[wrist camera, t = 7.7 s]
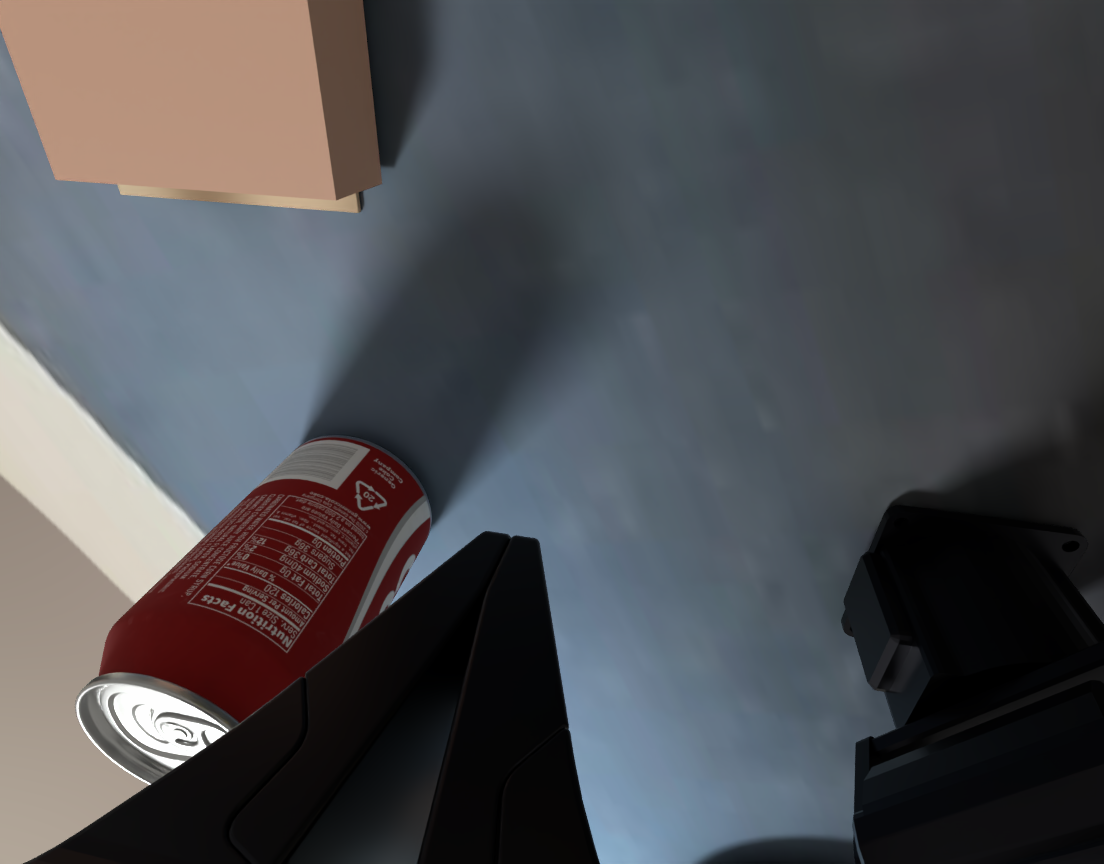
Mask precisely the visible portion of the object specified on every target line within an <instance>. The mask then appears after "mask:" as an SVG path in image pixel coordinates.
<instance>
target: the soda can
mask: <svg viewBox="0 0 1104 864" xmlns="http://www.w3.org/2000/svg"><path fill="white" fill-rule="evenodd" d="M431 523H432V512H431V506H430V502H429V499H428V496H427V494H426V492H425V490H424V488H423V486H422V484H421V483H420V481H419V480H418V478H417V477H416V476H415V474H414V473H413V472H412V471H411V470H410V469H409V468H408V466H407V465H405V464H404V463H403V462H402V461H401V460H400V459H399V458H397V457H396V456H395V455H393V454H392V453H390V452H389V451H387V450H386V449H384V448H382V447H380V446H378V445H376V444H374V443H371V442H369V441H366V440H363V439H360V438H356V437H351V436H344V435H327V436H321V437H317V438H314V439H311V440H309V441H307V442H305V443H303V444H302V445H300V446H299V447H298V448H296V449H295V450H294V451H293V452H292V453H291V454H290V455H289V456H288V457H287V458H286V459H285V460H284V461H283V462H282V463H281V464H280V465H279V466H278V467H277V468H276V469H275V470H274V471H273V472H272V473H271V474H269V475H268V476H267V477H266V478H265V479H264V480H263V481H262V482H261V483H260V484H259V485H258V486H257V487H256V488H255V489H254V490H253V491H252V492H251V493H250V494H249V495H248V496H247V497H246V498H245V499H244V500H242V501H241V502H240V503H239V504H238V505H237V506H236V507H235V508H234V509H233V510H232V511H231V512H230V513H229V514H228V515H227V516H226V517H225V518H224V519H223V520H222V521H221V522H220V523H219V524H218V525H217V526H216V527H214V528H213V529H212V530H211V531H210V532H209V533H208V534H207V535H206V536H205V537H204V538H203V539H202V540H201V541H200V542H199V543H198V544H197V545H196V546H195V547H194V548H193V549H192V550H191V551H190V552H189V553H187V554H186V555H185V556H184V557H183V558H182V559H181V560H180V561H179V562H178V563H177V564H176V565H175V566H174V567H173V568H172V569H171V570H170V571H169V572H168V573H167V574H166V575H165V576H164V577H163V578H162V579H161V580H159V581H158V582H157V583H156V584H155V585H154V586H153V587H152V588H151V589H150V590H149V591H148V592H147V593H146V594H145V595H144V596H143V597H142V598H141V599H140V600H139V601H138V602H137V603H136V604H135V605H134V606H133V607H132V608H130V609H129V611H127V612H126V613H125V614H124V615H123V616H122V617H121V618H120V619H119V620H118V621H117V622H116V623H115V624H114V626H113V627H112V629H111V630H110V632H109V634H108V636H107V639H106V642H105V647H104V652H103V657H102V662H101V667H100V672H99V676H98V677H96V678H94V679H93V680H91V681H90V682H89V683H88V684H87V685H86V686H85V687H84V688H83V689H82V690H81V691H80V693H79V695H78V696H77V698H76V703H75V711H76V715H77V718H78V721H79V723H80V725H81V727H82V729H83V730H84V732H85V734H86V735H87V736H88V737H89V739H90V740H91V741H92V742H93V744H94V745H96V747H97V748H98V749H99V750H100V751H101V752H102V753H103V754H105V755H106V756H107V757H108V758H109V759H110V760H112V761H113V762H114V763H115V764H117V765H118V766H119V767H121V768H122V769H124V770H125V771H127V772H128V773H130V774H131V775H133V776H135V777H136V778H138V779H140V780H141V781H143V782H145V783H147V784H149V785H150V784H152V783H153V782H155V781H156V780H158V779H159V778H161V777H162V776H164V775H165V774H167V773H168V772H170V771H171V770H173V769H174V768H176V767H177V766H179V765H180V764H182V763H183V762H185V761H186V760H188V759H189V758H191V757H192V756H194V755H195V754H197V753H198V752H199V751H201V750H202V749H204V748H205V747H207V746H208V745H209V744H211V743H212V742H214V741H215V740H217V739H218V738H220V737H221V736H222V735H224V734H225V733H227V732H228V731H230V730H231V729H233V728H234V727H235V726H237V725H238V724H240V723H241V722H242V721H244V720H245V719H246V718H247V717H249V716H250V715H251V714H253V713H254V712H255V711H257V710H258V709H259V708H261V707H262V706H263V705H265V704H266V703H267V702H269V701H270V700H271V699H273V698H274V697H275V696H277V695H278V694H279V693H280V692H282V691H283V690H284V689H285V688H287V687H288V686H289V685H290V684H292V683H293V682H294V681H295V680H297V679H298V678H299V677H304V678H305V673H306V672H307V671H308V670H310V669H311V668H312V667H313V666H315V665H316V664H317V663H318V662H320V661H321V660H322V659H323V658H325V657H326V656H327V655H329V654H330V653H331V652H332V651H334V650H335V649H336V648H337V647H339V646H340V645H341V644H342V643H344V642H345V641H346V640H347V639H349V638H350V637H351V636H352V635H354V634H355V633H356V632H358V631H359V630H360V629H361V628H363V627H364V626H365V625H366V624H368V623H369V622H370V621H371V620H373V619H374V618H375V617H376V616H378V615H379V614H380V613H381V612H383V611H384V610H385V609H387V608H388V607H389V606H390V604H391V602H392V601H393V599H394V597H395V595H396V593H397V592H398V590H399V588H400V586H401V584H402V583H403V581H404V579H405V577H406V575H407V574H408V572H409V570H410V568H411V567H412V565H413V563H414V561H415V559H416V558H417V556H418V554H419V552H420V550H421V549H422V547H423V545H424V543H425V541H426V540H427V537H428V535H429V533H430V529H431Z"/></svg>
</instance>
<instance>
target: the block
mask: <svg viewBox="0 0 1104 864" xmlns="http://www.w3.org/2000/svg"><path fill="white" fill-rule="evenodd" d="M0 28H1V31H2V34H3V37H4V39H5V42H6V45H7V48H8V50H9V53H10V56H11V59H12V61H13V64H14V67H15V69H16V72H17V75H18V78H19V80H20V83H21V86H22V89H23V91H24V94H25V97H26V100H27V102H28V105H29V108H30V111H31V113H32V116H33V119H34V121H35V124H36V127H37V130H38V132H39V135H40V138H41V141H42V143H43V146H44V149H45V152H46V154H47V157H48V160H49V163H50V165H51V168H52V171H53V173H54V176H55V179H56V180H66V181H79V182H93V183H106V184H120V185H133V186H147V187H160V188H174V189H187V190H201V191H214V192H228V193H241V194H255V195H268V196H282V197H295V198H309V199H323V200H339V199H342V198H344V197H347V196H350V195H353V194H355V193H358V192H361V191H364V190H366V189H369V188H372V187H375V186H377V185H380V184H382V178H381V168H380V159H379V149H378V140H377V130H376V121H375V112H374V102H373V93H372V83H371V74H370V64H369V55H368V45H367V36H366V26H365V17H364V7H363V0H0Z"/></svg>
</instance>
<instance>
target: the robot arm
mask: <svg viewBox="0 0 1104 864" xmlns="http://www.w3.org/2000/svg"><path fill="white" fill-rule="evenodd" d="M898 518H905V519H904V520H903V521H900V522H895V520H896V519H898ZM1068 541H1071V542H1070V543H1068V544H1064V543H1066V542H1068ZM1087 546H1088V542H1087V540H1086V538H1085V537H1084V536H1083V535H1082V534H1081V533H1080V532H1079V531H1078V530H1077V529H1073V528H1068V527H1061V526H1053V525H1046V524H1038V523H1031V522H1023V521H1016V520H1008V519H1001V518H993V517H986V516H978V515H971V514H963V513H956V512H948V511H941V510H933V509H926V508H918V507H911V506H903V505H899V506H894V507H891V508H889V509H888V510H886V512H885V513H884V515H883V517H882V520H881V522H880V525H879V527H878V530H877V532H876V535H875V537H874V540H873V542H872V545H871V547H870V550H869V552H866V553H865V554H864V555H862V556H861V558H860V560H859V563H858V565H857V568H856V570H855V573H854V576H853V578H852V581H851V583H850V586H849V588H848V591H847V593H846V596H845V598H844V605H845V608H846V609H845V612H844V614H843V617H842V620H841V623H842V627H843V630H844V632H845V633H846V634H847V635H849V636H852V637H854V638H855V642H856V645H857V648H858V652H859V655H860V659H861V662H862V665H863V669H864V672H865V675H866V679H867V682H868V683H869V685H870V686H871V687H872V688H873V689H874V690H877V691H883V692H884V693H885V696H886V699H887V702H888V706H889V709H890V712H891V715H892V718H893V721H894V724H895V727H896V729H895V730H892V731H890V732H888V733H885V734H883V735H881V736H878V737H876V738H873V737H872V736H870V737H868V738H865V739H863V740H861V741H858V742H856V752H855V796H854V815H853V824H852V827H853V832H854V840H853V844H854V858H855V862H856V864H1104V624H1103V623H1102V621H1101V620H1100V619H1099V618H1098V616H1097V615H1096V614H1095V612H1094V611H1093V610H1092V608H1091V607H1090V606H1089V604H1088V603H1087V602H1086V600H1085V599H1084V598H1083V596H1082V595H1081V594H1080V592H1079V591H1078V590H1077V588H1076V587H1075V586H1074V585H1073V583H1072V582H1071V581H1070V579H1069V578H1068V577H1069V575H1070V574H1071V572H1072V571H1073V569H1074V568H1075V566H1076V564H1077V563H1078V561H1079V560H1080V558H1081V557H1082V555H1083V554H1084V552H1085V551H1086V549H1087ZM568 729H569V724H568V718H567V711H566V705H565V699H564V693H563V686H562V680H561V674H560V668H559V661H558V655H557V649H556V643H555V636H554V630H553V624H552V618H551V611H550V605H549V599H548V593H547V587H546V580H545V574H544V568H543V562H542V555H541V549H540V543H539V541H538V540H537V539H536V538H530V537H523V536H513V537H512V538H511V537H510V536H509V535H508V534H504V533H497V532H490V531H485V532H483V533H481V534H480V535H478V536H477V537H476V538H475V539H473V540H472V541H471V542H470V543H468V544H467V545H466V546H465V547H463V548H462V549H461V550H460V551H458V552H457V553H456V554H455V555H453V556H452V557H451V558H450V559H448V560H447V561H446V562H444V563H443V564H442V565H441V566H439V567H438V568H437V569H436V570H434V571H433V572H432V573H431V574H429V575H428V576H427V577H426V578H424V579H423V580H422V581H421V582H419V583H418V584H417V585H415V586H414V587H413V588H412V589H410V590H409V591H408V592H407V593H405V594H404V595H403V596H402V597H400V598H399V599H398V600H397V601H395V602H394V603H393V604H392V605H390V606H389V607H388V608H387V609H385V610H384V611H383V612H381V613H380V614H379V615H378V616H376V617H375V618H374V619H373V620H371V621H370V622H369V623H368V624H366V625H365V626H364V627H363V628H361V629H360V630H359V631H358V632H356V633H355V634H354V635H352V636H351V637H350V638H349V639H347V640H346V641H345V642H344V643H342V644H341V645H340V646H339V647H337V648H336V649H335V650H334V651H332V652H331V653H330V654H329V655H327V656H326V657H325V658H323V659H322V660H321V661H320V662H318V663H317V664H316V665H315V666H313V667H312V668H311V669H310V670H308V671H307V672H306V673H305V678H304V677H299V678H298V679H297V680H295V681H294V682H293V683H292V684H290V685H289V686H288V687H287V688H285V689H284V690H283V691H282V692H280V693H279V694H278V695H277V696H275V697H274V698H273V699H271V700H270V701H269V702H267V703H266V704H265V705H263V706H262V707H261V708H259V709H258V710H257V711H255V712H254V713H253V714H251V715H250V716H249V717H247V718H246V719H245V720H244V721H242V722H241V723H240V724H238V725H237V726H235V727H234V728H233V729H231V730H230V731H228V732H227V733H225V734H224V735H222V736H221V737H220V738H218V739H217V740H215V741H214V742H212V743H211V744H209V745H208V746H207V747H205V748H204V749H202V750H201V751H199V752H198V753H197V754H195V755H194V756H192V757H191V758H189V759H188V760H186V761H185V762H183V763H182V764H180V765H179V766H177V767H176V768H174V769H173V770H171V771H170V772H168V773H167V774H165V775H164V776H162V777H161V778H159V779H158V780H156V781H155V782H153V783H152V784H150V785H149V786H147V787H146V788H144V789H143V790H141V791H140V792H138V793H137V794H135V795H134V796H132V797H131V798H129V799H128V800H126V801H125V802H123V803H122V804H120V805H119V806H117V807H116V808H114V809H113V810H111V811H110V812H108V813H107V814H105V815H104V816H103V817H101V818H99V819H98V820H96V821H95V822H93V823H92V824H90V825H89V826H87V827H86V828H84V829H83V830H81V831H80V832H78V833H77V834H75V835H73V836H72V837H70V838H69V839H67V840H65V841H64V842H62V843H61V844H59V845H57V846H56V847H54V848H52V849H50V850H48V851H47V852H45V853H43V854H41V855H39V856H37V857H36V858H34V859H32V860H30V861H28V862H25V863H23V864H600V863H599V859H598V856H597V853H596V849H595V845H594V842H593V838H592V834H591V831H590V827H589V823H588V819H587V816H586V812H585V808H584V804H583V800H582V795H581V790H580V785H579V780H578V775H577V770H576V765H575V760H574V753H573V747H572V741H571V734H570V731H569V730H568Z"/></svg>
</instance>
